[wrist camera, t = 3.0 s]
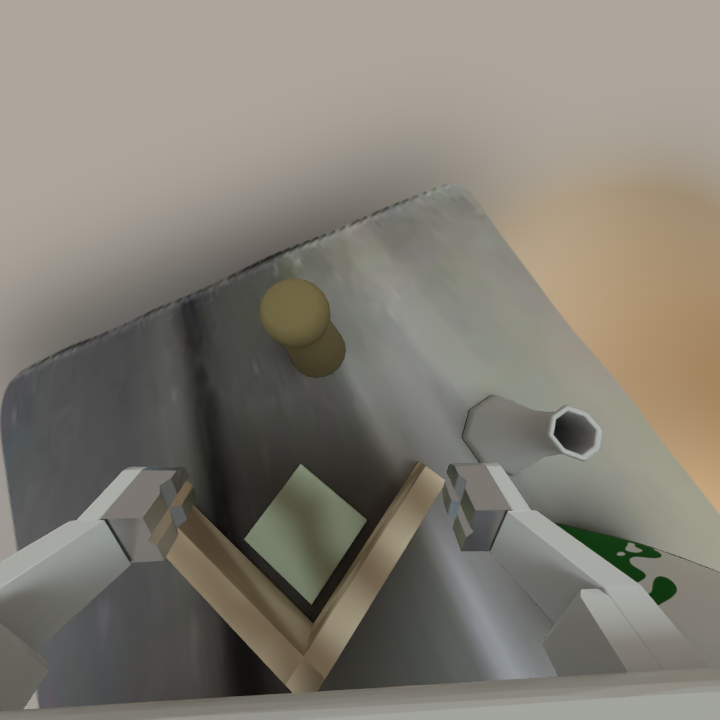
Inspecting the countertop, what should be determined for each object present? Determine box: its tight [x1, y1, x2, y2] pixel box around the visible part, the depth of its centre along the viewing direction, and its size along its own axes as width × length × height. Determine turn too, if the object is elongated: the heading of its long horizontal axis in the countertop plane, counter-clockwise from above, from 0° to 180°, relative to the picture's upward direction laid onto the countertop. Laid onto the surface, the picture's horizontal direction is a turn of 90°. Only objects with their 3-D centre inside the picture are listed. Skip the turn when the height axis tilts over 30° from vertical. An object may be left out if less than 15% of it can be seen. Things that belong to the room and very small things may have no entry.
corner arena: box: [166, 462, 445, 693], centre depth 23 cm, size 18×18×4 cm
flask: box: [463, 395, 603, 476], centre depth 21 cm, size 7×7×10 cm
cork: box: [260, 279, 346, 378], centre depth 24 cm, size 6×6×11 cm
